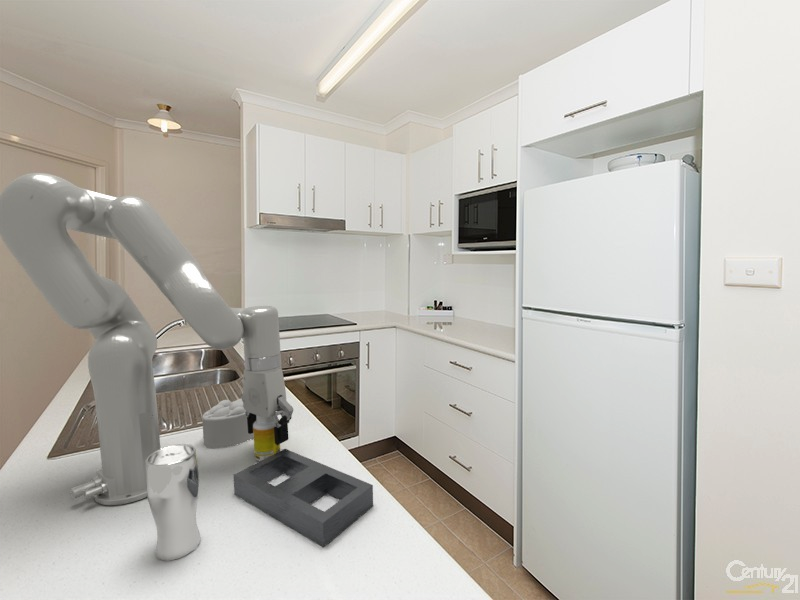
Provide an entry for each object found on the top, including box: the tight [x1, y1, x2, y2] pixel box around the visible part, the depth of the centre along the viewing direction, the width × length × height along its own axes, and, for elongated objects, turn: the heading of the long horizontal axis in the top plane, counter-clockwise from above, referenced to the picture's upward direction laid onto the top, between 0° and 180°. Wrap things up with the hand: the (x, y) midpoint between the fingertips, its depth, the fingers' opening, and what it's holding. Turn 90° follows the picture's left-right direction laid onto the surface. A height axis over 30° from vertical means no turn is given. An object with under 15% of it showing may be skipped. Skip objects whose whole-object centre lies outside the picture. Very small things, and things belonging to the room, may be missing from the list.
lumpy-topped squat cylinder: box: [201, 397, 254, 449], centre depth 97 cm, size 10×13×9 cm
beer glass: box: [146, 443, 201, 562], centre depth 59 cm, size 7×7×15 cm
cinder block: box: [233, 448, 374, 548], centre depth 71 cm, size 12×24×4 cm, turn 55°
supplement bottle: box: [253, 415, 281, 462], centre depth 87 cm, size 6×6×10 cm
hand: (267, 436), depth 87 cm, fingers open, 9 cm apart
